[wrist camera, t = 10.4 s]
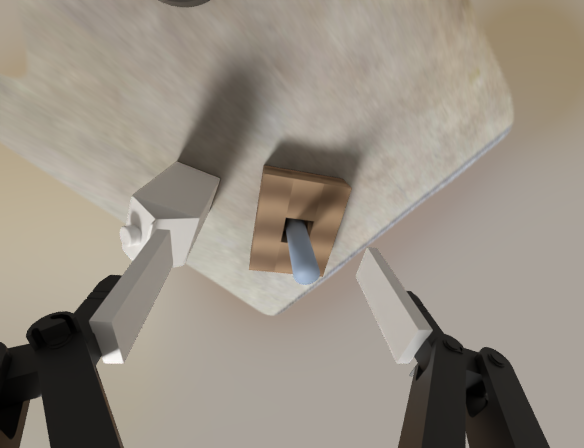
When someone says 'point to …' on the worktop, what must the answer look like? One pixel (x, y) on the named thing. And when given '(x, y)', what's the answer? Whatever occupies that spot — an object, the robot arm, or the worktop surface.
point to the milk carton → (170, 210)
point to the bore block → (296, 216)
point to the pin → (301, 252)
